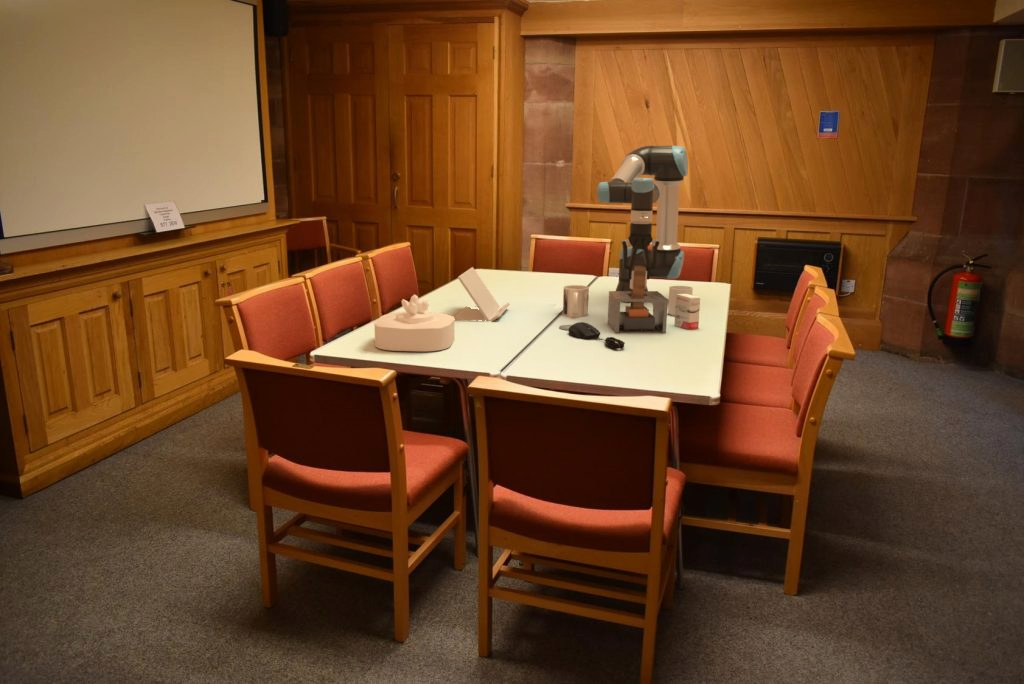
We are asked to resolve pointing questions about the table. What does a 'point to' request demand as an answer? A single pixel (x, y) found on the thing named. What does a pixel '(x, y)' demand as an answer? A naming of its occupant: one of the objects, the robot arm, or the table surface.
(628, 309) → the breaker button
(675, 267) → the robot arm
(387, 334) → the pink flower lid box
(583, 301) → the mug
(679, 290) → the mug
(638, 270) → the walnut block
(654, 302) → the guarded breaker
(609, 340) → the computer mouse
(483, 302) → the tablet stand
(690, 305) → the ink box
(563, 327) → the coaster
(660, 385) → the table surface
